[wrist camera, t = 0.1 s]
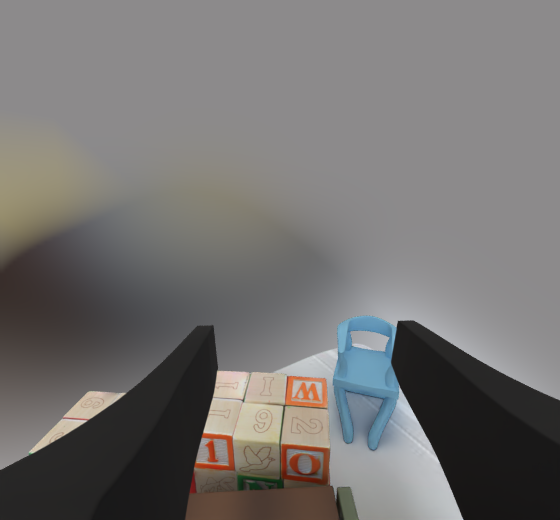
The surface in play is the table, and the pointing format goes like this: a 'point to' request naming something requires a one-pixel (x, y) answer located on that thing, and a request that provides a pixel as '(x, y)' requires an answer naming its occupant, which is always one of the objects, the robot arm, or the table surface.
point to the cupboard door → (346, 504)
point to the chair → (365, 374)
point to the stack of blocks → (246, 432)
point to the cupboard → (264, 504)
